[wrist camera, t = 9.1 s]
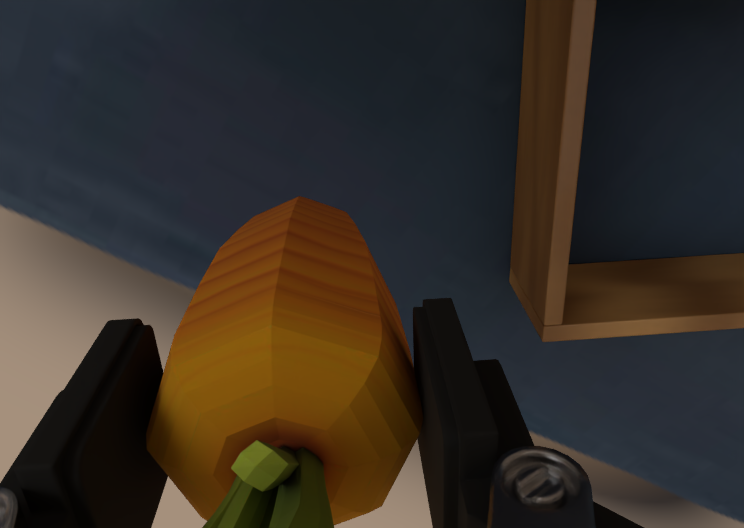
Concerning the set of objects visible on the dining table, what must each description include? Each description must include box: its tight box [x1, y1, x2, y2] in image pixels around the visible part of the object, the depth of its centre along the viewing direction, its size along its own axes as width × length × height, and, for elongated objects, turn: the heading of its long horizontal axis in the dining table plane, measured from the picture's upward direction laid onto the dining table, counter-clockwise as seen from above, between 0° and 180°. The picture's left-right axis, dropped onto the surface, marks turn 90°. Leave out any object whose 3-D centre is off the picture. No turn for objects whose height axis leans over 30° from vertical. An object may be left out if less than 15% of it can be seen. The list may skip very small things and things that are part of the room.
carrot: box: [146, 196, 423, 528], centre depth 13 cm, size 5×5×15 cm
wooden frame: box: [509, 0, 744, 342], centre depth 25 cm, size 15×15×6 cm
